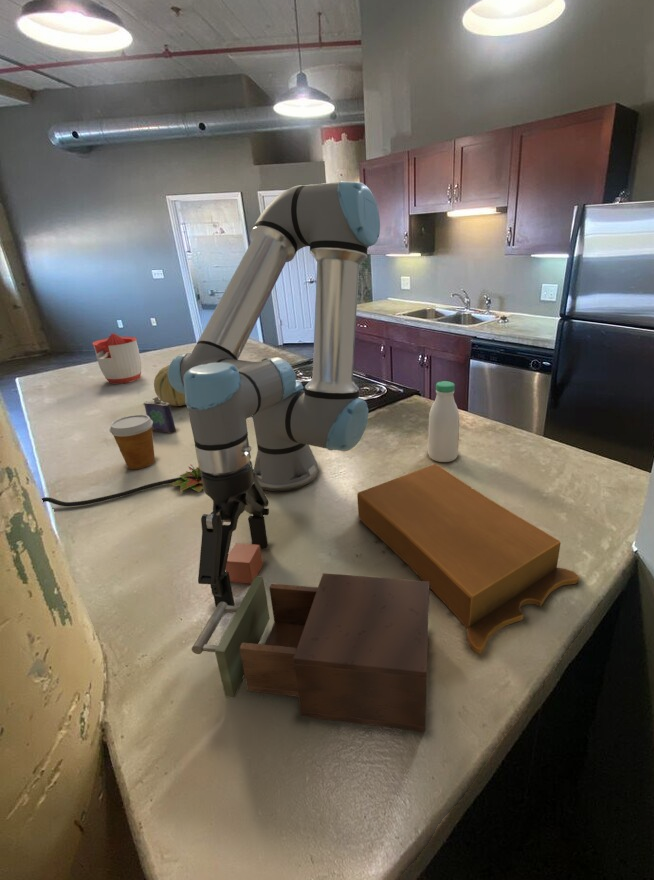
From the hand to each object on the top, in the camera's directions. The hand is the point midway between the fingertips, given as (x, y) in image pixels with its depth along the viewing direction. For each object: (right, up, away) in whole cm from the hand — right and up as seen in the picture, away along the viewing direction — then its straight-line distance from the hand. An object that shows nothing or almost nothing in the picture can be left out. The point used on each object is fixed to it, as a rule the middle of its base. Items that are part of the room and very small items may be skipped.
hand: (244, 574), depth 71 cm
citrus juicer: (-86, +38, +104) cm, 140 cm away
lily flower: (-20, +10, +28) cm, 36 cm away
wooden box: (+37, +2, +5) cm, 37 cm away
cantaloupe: (-48, +28, +77) cm, 95 cm away
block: (0, 0, 0) cm, 0 cm away
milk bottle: (+39, +15, +38) cm, 57 cm away
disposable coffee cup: (-39, +13, +37) cm, 56 cm away
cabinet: (+22, -6, -16) cm, 28 cm away
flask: (-44, +20, +57) cm, 74 cm away
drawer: (+9, -5, -15) cm, 19 cm away
